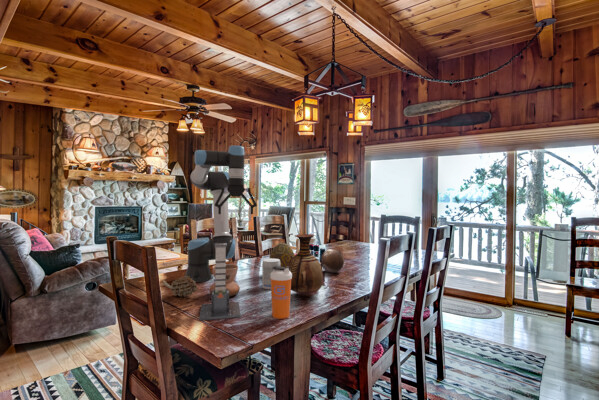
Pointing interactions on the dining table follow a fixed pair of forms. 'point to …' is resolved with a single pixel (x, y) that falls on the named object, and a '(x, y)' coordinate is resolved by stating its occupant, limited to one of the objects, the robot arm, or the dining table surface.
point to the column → (220, 267)
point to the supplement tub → (268, 271)
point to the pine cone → (182, 286)
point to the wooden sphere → (332, 260)
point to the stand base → (220, 307)
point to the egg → (282, 254)
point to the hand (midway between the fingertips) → (235, 221)
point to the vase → (305, 269)
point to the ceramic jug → (228, 279)
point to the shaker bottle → (280, 291)
